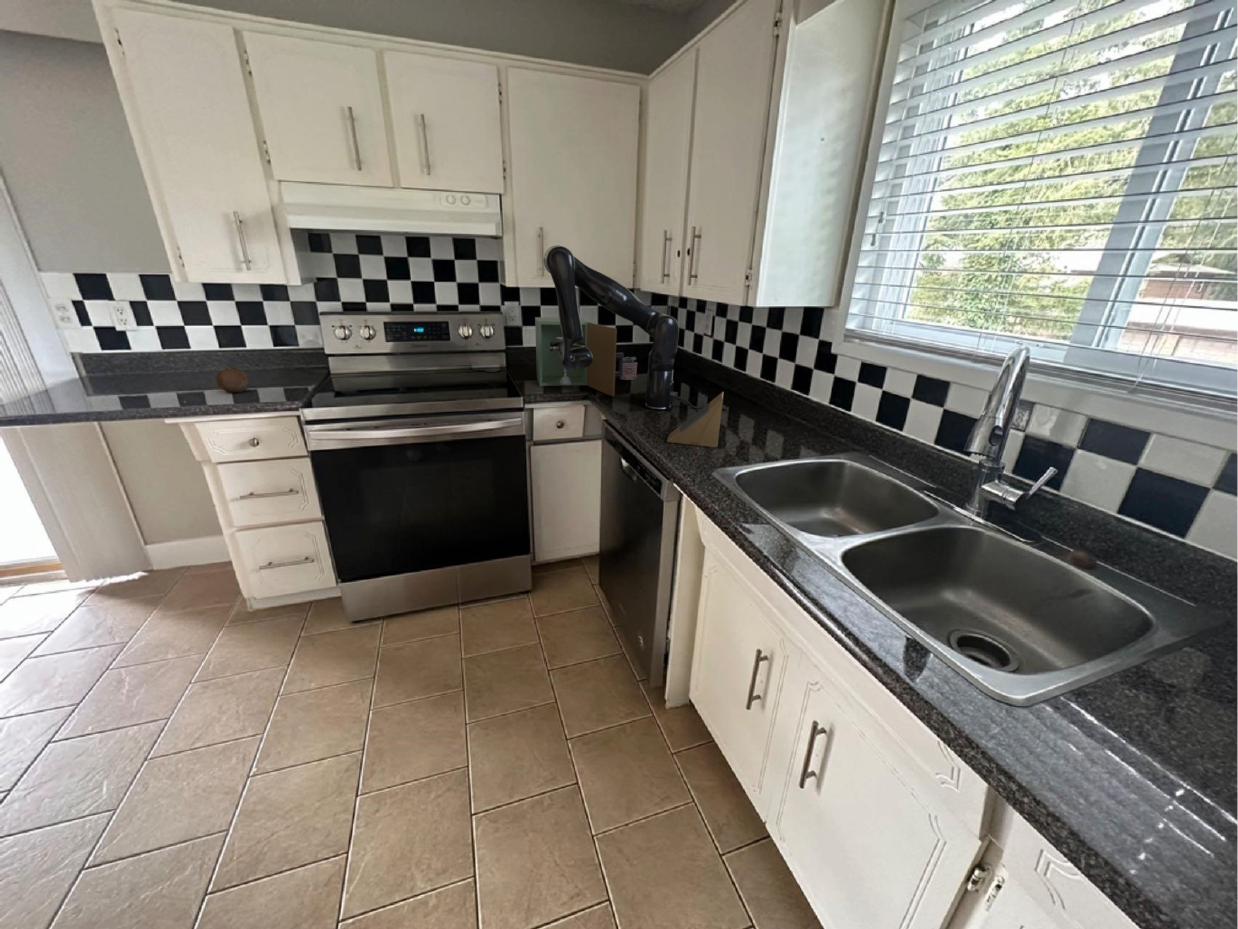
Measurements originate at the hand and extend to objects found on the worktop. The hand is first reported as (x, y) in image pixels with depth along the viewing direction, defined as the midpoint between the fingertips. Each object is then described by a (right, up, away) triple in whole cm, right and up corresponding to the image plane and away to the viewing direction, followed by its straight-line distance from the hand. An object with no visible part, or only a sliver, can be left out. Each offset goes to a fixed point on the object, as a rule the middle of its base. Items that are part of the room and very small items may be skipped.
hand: (564, 343), depth 202 cm
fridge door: (+17, -18, +5) cm, 25 cm away
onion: (-120, -22, -16) cm, 123 cm away
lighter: (+26, -10, +26) cm, 38 cm away
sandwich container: (+45, -42, -48) cm, 78 cm away
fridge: (-3, -13, +16) cm, 21 cm away
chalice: (0, -15, +4) cm, 16 cm away
